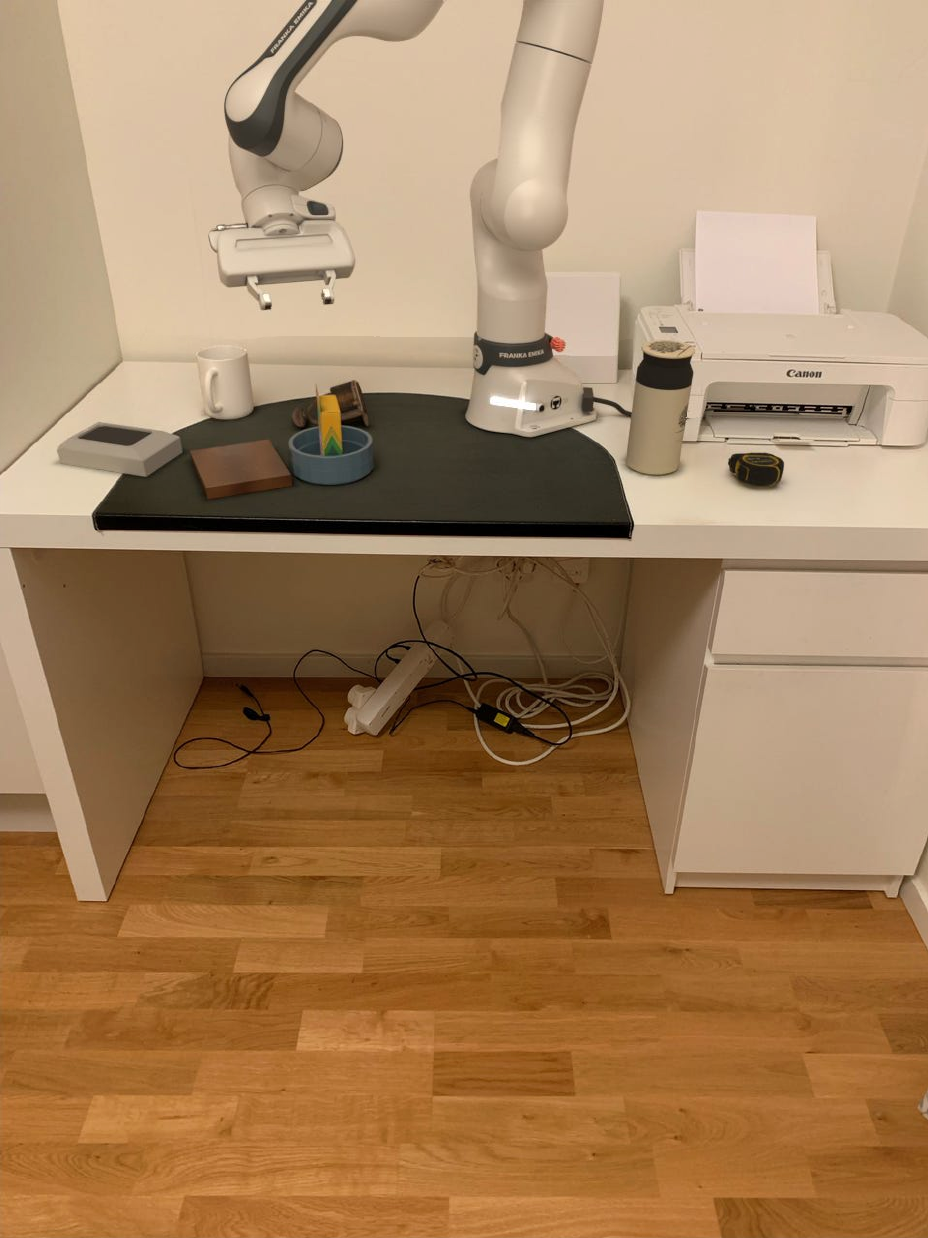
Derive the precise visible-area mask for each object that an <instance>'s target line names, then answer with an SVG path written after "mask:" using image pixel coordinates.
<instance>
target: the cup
mask: <svg viewBox="0 0 928 1238" xmlns="http://www.w3.org/2000/svg"><path fill="white" fill-rule="evenodd" d="M195 359H196V364H197V371H198V378H199V384H200V389H201V395H202V402H203V407H204V411H205V413H206V415H207V416H208V417H211V418H212V419H216V420H236V419H242V418H244V417H248V416H249V415H251V414H252V413H253V411H254V409H255V401H254V395H253V386H252V378H251V370H250V361H249V355H248V350H247V349H246V348H244V347H242V346H238V345H234V344H233V345H232V344H222V345H219V344H218V345H213V346H212V345H211V346H207V347H204V348H201V349H199V350H198V351H197V352H196V353H195Z"/></svg>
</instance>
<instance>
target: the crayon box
mask: <svg viewBox="0 0 928 1238" xmlns="http://www.w3.org/2000/svg"><path fill="white" fill-rule="evenodd" d="M314 385H315V395H316V396H315V397H316V399H317V405H316V406H317V407H316V408H317V420H318V422H319V425H318V427H319V437H320V452H321V456H337V455H343V450H342V434H341V425H342V424H341V413H340V409H339V405H338V401H337V398H336V396H335V395H324V394H322V395H323V396H322V395H319V390H318V385H317V383H315V384H314Z"/></svg>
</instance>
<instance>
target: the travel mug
mask: <svg viewBox="0 0 928 1238" xmlns="http://www.w3.org/2000/svg"><path fill="white" fill-rule="evenodd" d="M641 351H642V360H640V362H639V364H638V366H637V368H636V374H635V384H634V391H633V399H632V407H631V412H632V415H631V417H630V424H629V431H628V440H627V448H626V457H625V463H626V465H627V467H629V468H630V469H632V470H634V471H636V472H637V473H641V474H643V475H649V476H650V475H652V476H662V475H667V474H671V473H674V472H675V471H677V470H678V469H679V467H680V460H681V455H682V447H683V442H684V436H685V429H686V423H687V418H688V417H687V412H689V411H688V410H689V404H690V398H691V392H692V391H691V390H692V386H693V380H694V379H693V378H694V372H695V371H694V369H693V366H692V363H691V361H692V358H693V356H694V354H695V353H696V348H695V347H694V346H692V345H691V344H689V343H686V342H683V341H679V340H671V339H659V340H658V339H656V340H655V339H654V340H650V341H646V342H644V343H642V345H641ZM686 417H687V418H686Z"/></svg>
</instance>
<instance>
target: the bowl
mask: <svg viewBox="0 0 928 1238" xmlns="http://www.w3.org/2000/svg"><path fill="white" fill-rule="evenodd" d="M341 434H342V450H343V455H337V456H321V452H320V437H319V426H313V427H309V428H306V429H303V430H300V431H298V432H296V433H294V434H293V435H292V436H291V437H290V438H289V439H288V453H289V454H288V455H289V463H290V464H289V465H290V471H291V472H292V474H293V475H294V476H295V477H297V478H298V479H300V480H302V481H304V482H306V483H310V484H314V485H320V486H321V485H322V486H338V485H345V484H350V483H354V482H358V481H359V480H361V479H363V478H364V477H366V476H367V475H368V474H370V473H371V472H372V471H373V469H374V463H375V462H374V446H373V445H374V444H373V442H374V441H373V436H372V435H371V434H370V433H369V432H368V431H366V430H365V429H362V428H359V427H354V426H351V425H342V424H341Z"/></svg>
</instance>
